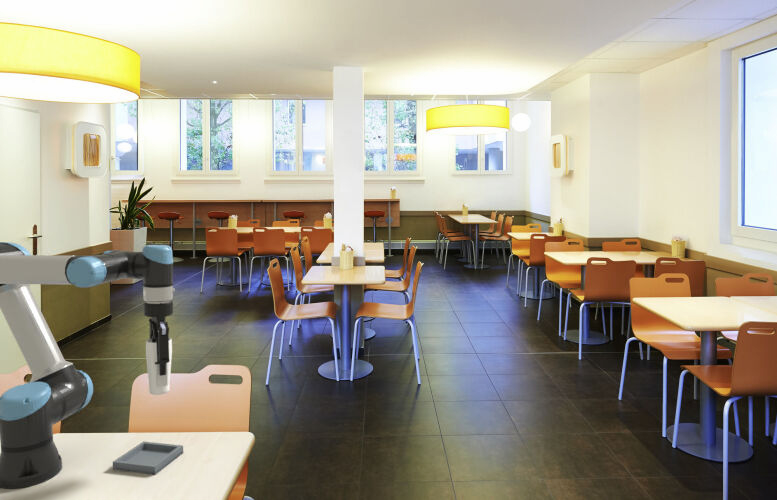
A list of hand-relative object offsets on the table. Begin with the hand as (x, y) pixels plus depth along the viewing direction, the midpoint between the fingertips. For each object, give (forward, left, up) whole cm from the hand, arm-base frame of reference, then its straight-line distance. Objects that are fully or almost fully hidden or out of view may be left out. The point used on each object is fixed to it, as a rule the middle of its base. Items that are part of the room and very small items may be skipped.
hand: (159, 382), depth 154 cm
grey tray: (-2, -2, -22) cm, 22 cm away
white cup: (0, 0, -3) cm, 3 cm away
